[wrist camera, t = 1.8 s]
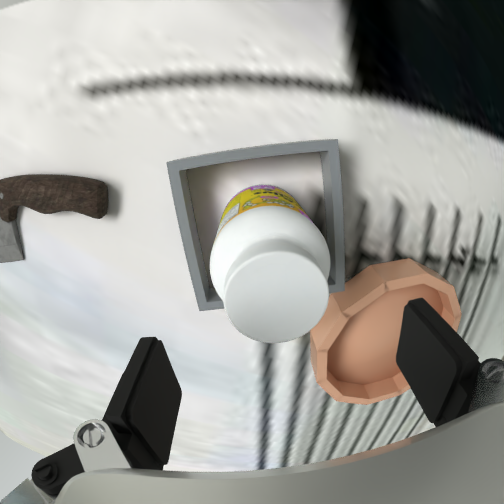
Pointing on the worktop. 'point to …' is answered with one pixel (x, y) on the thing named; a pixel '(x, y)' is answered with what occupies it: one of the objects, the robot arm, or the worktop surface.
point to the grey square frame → (327, 148)
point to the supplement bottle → (270, 266)
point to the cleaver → (45, 203)
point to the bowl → (374, 329)
